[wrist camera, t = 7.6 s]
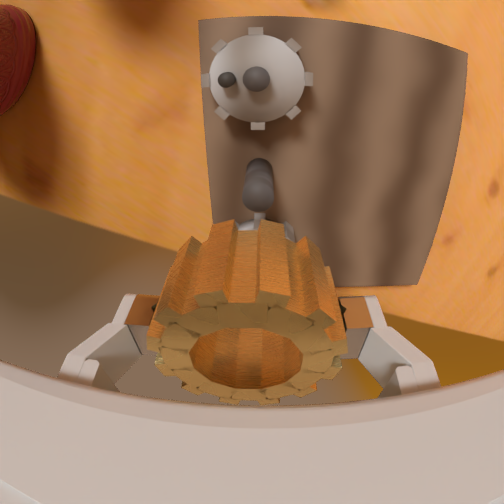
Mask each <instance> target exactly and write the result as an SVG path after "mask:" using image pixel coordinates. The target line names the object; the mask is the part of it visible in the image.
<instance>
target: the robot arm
mask: <svg viewBox="0 0 504 504" xmlns="http://www.w3.org/2000/svg"><path fill="white" fill-rule="evenodd" d="M159 298H160V296H154V295H141V294H126V295H125V296H124V298H123V300H122V302H121V304H120V306H119V308H118V310H117V313H116V315H115V317H114V319H113V321H112V323H108V324H107V325H105V326H104V327H103V328H101V329H100V330H99V331H97V332H96V333H95V334H93V335H92V336H91V337H89V338H88V339H87V340H85V341H84V342H83V343H81V344H80V345H79V346H77V347H76V348H75V349H73V350H72V351H71V352H69V353H68V354H67V357H66V359H65V361H64V363H63V365H62V368H61V370H60V372H59V374H58V376H57V378H55V377H51V376H49V375H45V374H42V373H39V372H35V371H32V370H29V369H26V368H23V367H20V366H17V365H14V364H11V363H9V362H6V361H3V360H0V504H504V370H501V371H498V372H495V373H491V374H488V375H485V376H481V377H478V378H475V379H471V380H467V381H463V382H460V383H456V384H452V385H448V386H443V387H441V385H440V382H439V379H438V376H437V373H436V370H435V367H434V365H433V362H432V360H430V359H429V358H428V357H427V356H426V355H424V354H423V353H422V352H421V351H420V350H419V349H417V348H416V347H415V346H414V345H413V344H411V343H410V342H409V341H408V340H407V339H405V338H404V337H403V336H402V335H401V334H399V333H398V332H397V331H396V330H394V329H393V328H392V327H387V324H386V321H385V318H384V315H383V313H382V310H381V307H380V304H379V302H378V299H377V297H376V296H375V295H373V296H352V297H338V302H339V306H340V311H341V315H342V319H343V324H344V328H345V333H346V337H347V346H348V353H346V354H341V355H340V358H341V359H353V358H358V360H359V361H360V362H361V363H362V364H363V365H364V367H365V368H366V369H367V370H368V371H369V372H370V374H371V375H372V376H373V377H374V378H375V379H376V381H377V382H378V383H379V384H380V385H381V386H382V388H383V391H382V392H381V394H380V395H379V397H378V398H377V399H369V400H362V401H361V400H360V401H351V402H342V403H329V404H312V405H284V406H251V405H248V406H247V405H224V404H208V403H194V402H184V401H175V400H166V399H158V398H152V397H145V396H138V395H132V394H126V393H121V392H120V391H119V390H118V389H117V388H116V386H115V385H114V384H115V383H116V382H117V381H118V380H119V379H120V377H122V375H124V374H125V372H126V371H128V369H129V368H130V367H131V366H132V365H133V364H134V363H135V362H136V361H137V360H138V359H139V358H140V357H141V356H142V355H152V356H157V353H158V352H155V351H151V350H147V339H146V335H147V332H148V329H149V326H150V323H151V320H152V317H153V314H154V312H155V309H156V306H157V303H158V300H159Z"/></svg>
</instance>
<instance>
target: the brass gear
mask: <svg viewBox="0 0 504 504" xmlns="http://www.w3.org/2000/svg"><path fill="white" fill-rule="evenodd" d="M146 339H147V350H151V351H155V352H158V353H157V356H156V360H155V364H154V365H155V366H156V367H157V368H158V369H159V370H160V371H161V372H162V374H163V375H164V376H177V377H178V378H179V379H181V380H182V386H181V388H183V389H185V390H187V391H189V392H191V393H194V394H196V395H200V394H202V393H204V392H205V393H208V394H212V395H215V396H218V397H219V402H225V403H231V404H239V402H240V400H255V401H258V402H259V404H260V405H266V404H274V403H280V398H281V397H284V396H288V395H292V394H293V395H296V396H298V397H303V396H306V395H308V394H310V393H312V392H315V391H317V387H316V382H317V381H318V380H320V379H329V380H333V378H334V377H335V376H336V375H337V374H338V372H340V370H341V369H342V363H341V358H340V355H341V354H346V353H348V346H347V337H346V333H345V328H344V324H343V319H342V315H341V311H340V306H339V302H338V298H337V294H336V290H335V286H334V282H333V278H332V274H331V270H330V267H329V266H327V267H324V263H323V259H322V255H321V251H320V249H319V248H318V247H317V246H316V245H315V244H314V243H313V242H312V241H311V240H310V239H309V238H308V237H307V236H305V237H303V238H302V239H301V240H300V241H298V242H297V243H294V242H292V241H290V240H288V239H286V238H285V231H284V224H280V223H276V222H272V221H267V220H263V219H261V221H260V224H259V228H258V230H238V228H237V226H236V223H235V220H234V219H233V220H229V221H225V222H221V223H217V224H213V225H212V227H211V231H210V234H209V238H208V240H207V241H205V242H203V243H200V242H199V241H198V240H196V239H195V238H194V237H192V236H191V237H190V238H189V239H188V240H187V241H186V242H185V244H184V245H183V246H182V247H181V248H180V249H179V251H178V253H177V256H176V259H175V261H174V264H173V266H171V268H170V271H169V273H168V276H167V279H166V281H165V284H164V287H163V289H162V292H161V295H160V298H159V300H158V303H157V306H156V309H155V312H154V314H153V317H152V320H151V323H150V326H149V329H148V332H147V335H146Z"/></svg>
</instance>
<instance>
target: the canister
mask: <svg viewBox="0 0 504 504" xmlns="http://www.w3.org/2000/svg"><path fill="white" fill-rule="evenodd" d="M35 49H36V38H35V30H34V26H33V23H32V20H31V18H30V17H29V15H28V14H27V13H26V12H25V11H24V10H23V9H21V8H18V7H15V6H12V5H0V116H1V115H2V114H3V113H5V112H6V111H7V110H9V109H10V108H11V107H12V106H13V105H14V104H15V103H16V102H17V101H18V99H19V98H20V96H21V95H22V93H23V91H24V90H25V88H26V85H27V83H28V81H29V78H30V75H31V72H32V68H33V64H34V58H35Z"/></svg>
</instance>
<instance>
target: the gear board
mask: <svg viewBox="0 0 504 504" xmlns="http://www.w3.org/2000/svg"><path fill="white" fill-rule="evenodd" d="M198 21H199V45H200V65H201V86H202V99H203V113H204V127H205V140H206V152H207V164H208V175H209V186H210V197H211V207H212V217H213V224H217V223H221V222H225V221H229V220H233V219H234V220H235V223H236V226H237V228H238V230H258V228H259V224H260V221H261V219H263V220H267V221H272V222H276V223H280V224H284V231H285V238H286V239H288V240H290V241H292V242H294V243H297V242H298V241H300V240H301V239H302V238H303V237H305V236H307V237H308V238H309V239H310V240H311V241H312V242H313V243H314V244H315V245H316V246H317V247H318V248H319V249H320V251H321V255H322V259H323V263H324V267H327V266H329V267H330V270H331V274H332V278H333V282H334V286H335V287H355V286H394V285H417V284H418V281H419V279H420V276H421V274H422V271H423V268H424V266H425V263H426V260H427V257H428V255H429V252H430V249H431V246H432V243H433V240H434V237H435V234H436V230H437V227H438V224H439V221H440V217H441V214H442V210H443V207H444V203H445V199H446V196H447V192H448V188H449V184H450V180H451V175H452V171H453V166H454V162H455V157H456V152H457V146H458V141H459V135H460V129H461V122H462V115H463V107H464V99H465V89H466V77H467V58H468V53H466V52H463V51H461V50H458V49H455V48H452V47H450V46H447V45H444V44H441V43H438V42H434V41H431V40H428V39H425V38H421V37H418V36H414V35H410V34H406V33H402V32H398V31H394V30H390V29H385V28H380V27H375V26H370V25H364V24H358V23H352V22H345V21H337V20H328V19H318V18H305V17H285V16H248V17H228V18H215V19H205V20H198Z"/></svg>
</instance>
